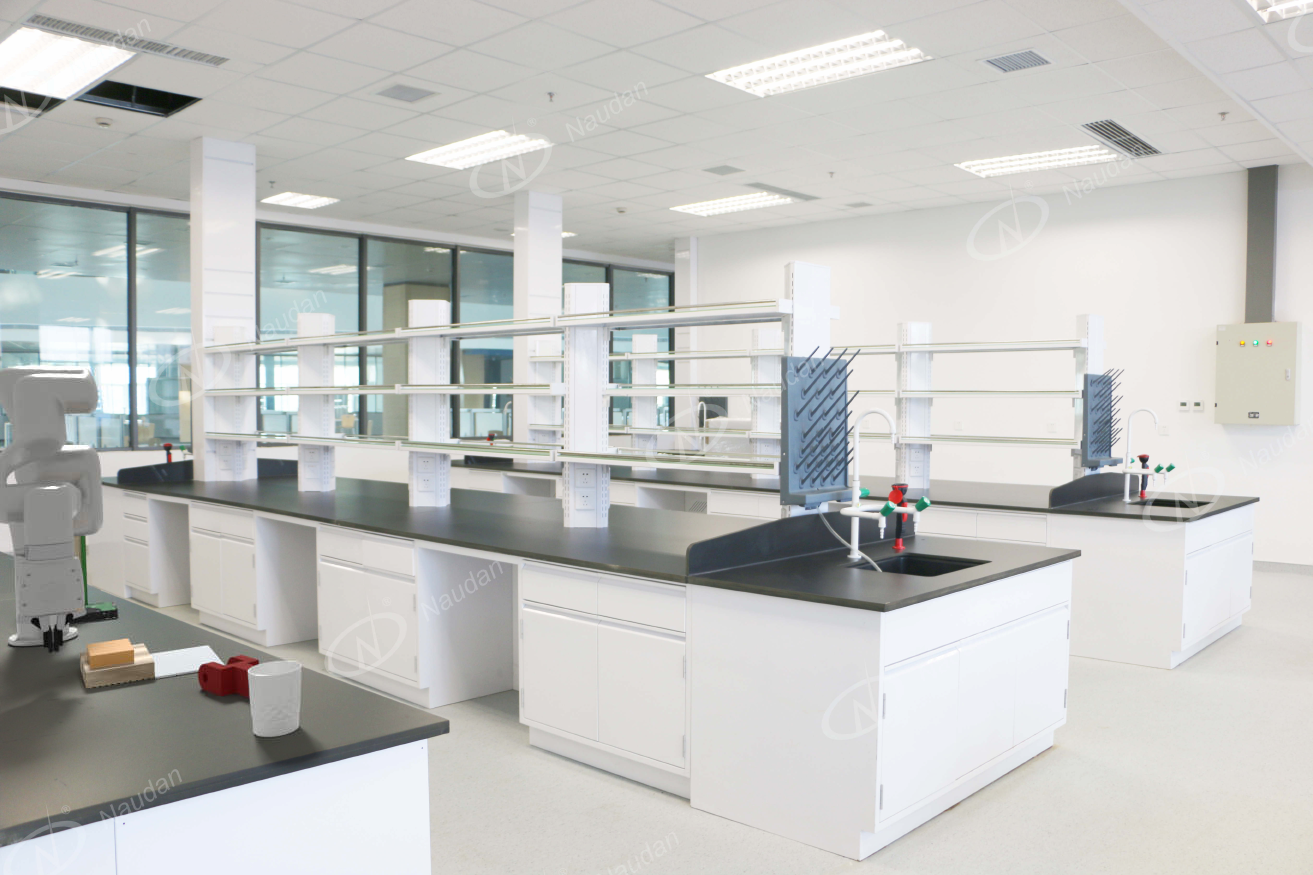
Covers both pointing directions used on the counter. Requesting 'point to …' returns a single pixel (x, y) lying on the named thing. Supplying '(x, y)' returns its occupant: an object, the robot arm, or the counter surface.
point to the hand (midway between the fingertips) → (53, 650)
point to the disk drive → (97, 612)
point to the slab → (110, 652)
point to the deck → (119, 669)
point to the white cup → (275, 697)
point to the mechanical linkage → (227, 676)
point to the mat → (182, 661)
